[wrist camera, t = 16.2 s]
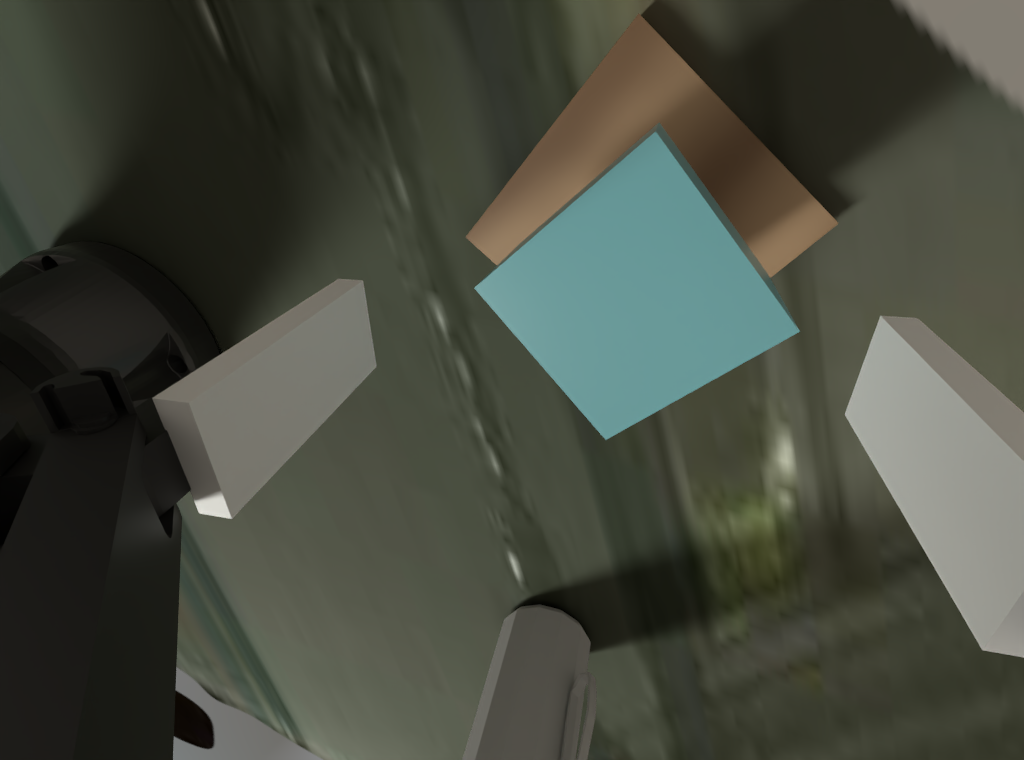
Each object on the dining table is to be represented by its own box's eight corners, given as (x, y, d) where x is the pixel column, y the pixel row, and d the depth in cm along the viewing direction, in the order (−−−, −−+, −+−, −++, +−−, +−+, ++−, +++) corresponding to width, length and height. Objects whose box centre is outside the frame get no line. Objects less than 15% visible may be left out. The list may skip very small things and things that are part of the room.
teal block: (619, 366, 24) (605, 439, 19) (518, 244, 22) (474, 288, 17) (767, 272, 20) (800, 331, 15) (659, 122, 19) (655, 131, 14)
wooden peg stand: (471, 232, 28) (387, 298, 19) (639, 16, 22) (623, -27, 13) (633, 379, 30) (621, 497, 21) (832, 218, 23) (927, 295, 15)
